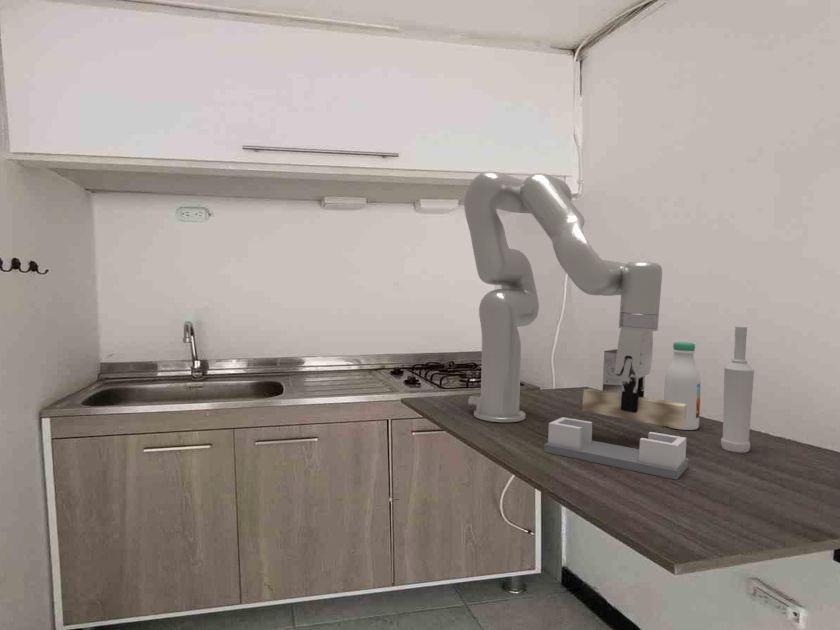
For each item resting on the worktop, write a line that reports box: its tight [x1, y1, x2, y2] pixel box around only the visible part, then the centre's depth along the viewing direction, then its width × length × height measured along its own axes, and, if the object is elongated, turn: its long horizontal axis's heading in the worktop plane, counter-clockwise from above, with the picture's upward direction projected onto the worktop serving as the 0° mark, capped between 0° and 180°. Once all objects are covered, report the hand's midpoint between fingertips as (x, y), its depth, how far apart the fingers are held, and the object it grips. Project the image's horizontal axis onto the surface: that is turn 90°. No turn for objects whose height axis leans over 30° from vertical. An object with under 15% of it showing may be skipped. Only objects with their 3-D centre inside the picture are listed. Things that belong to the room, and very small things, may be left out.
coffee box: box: [602, 348, 622, 394], centre depth 146 cm, size 9×6×16 cm
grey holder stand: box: [543, 416, 690, 481], centre depth 103 cm, size 24×9×6 cm, turn 53°
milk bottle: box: [663, 341, 701, 431], centre depth 129 cm, size 8×8×20 cm
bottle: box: [720, 326, 755, 454], centre depth 111 cm, size 5×5×25 cm
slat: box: [581, 388, 687, 430], centre depth 114 cm, size 20×3×4 cm, turn 53°
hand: (631, 409), depth 114 cm, fingers closed on slat, 3 cm apart
